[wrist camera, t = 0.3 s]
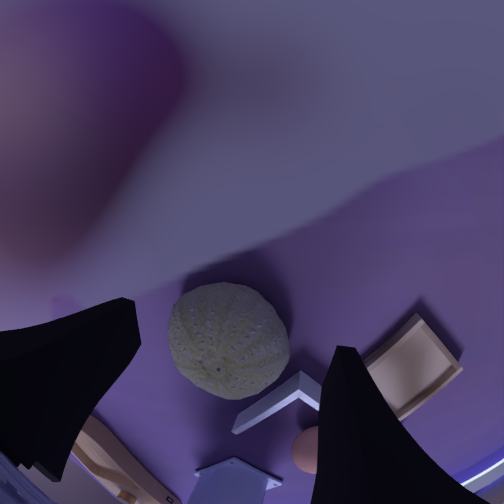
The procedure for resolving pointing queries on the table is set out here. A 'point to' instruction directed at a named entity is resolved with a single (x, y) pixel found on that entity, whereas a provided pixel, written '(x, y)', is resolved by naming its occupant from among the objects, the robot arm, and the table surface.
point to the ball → (306, 450)
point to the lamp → (117, 466)
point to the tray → (411, 367)
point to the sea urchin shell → (228, 340)
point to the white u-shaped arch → (280, 400)
